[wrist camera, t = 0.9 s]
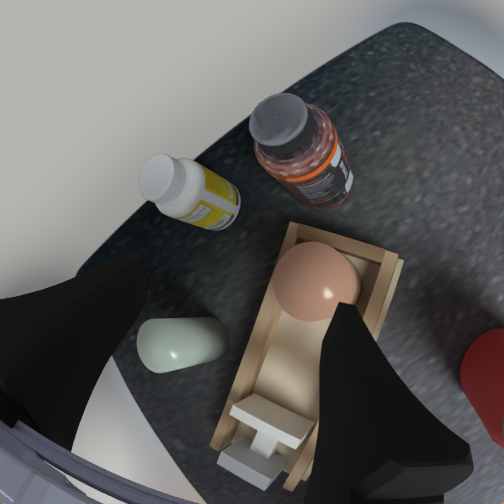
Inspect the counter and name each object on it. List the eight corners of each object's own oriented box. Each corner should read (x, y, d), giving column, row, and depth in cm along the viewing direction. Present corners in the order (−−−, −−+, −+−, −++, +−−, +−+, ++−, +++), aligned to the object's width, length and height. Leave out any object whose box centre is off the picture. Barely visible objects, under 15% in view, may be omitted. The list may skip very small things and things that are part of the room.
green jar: (221, 367, 30) (168, 383, 23) (187, 348, 32) (132, 356, 25) (235, 327, 30) (182, 333, 23) (199, 309, 32) (144, 310, 25)
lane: (308, 477, 24) (294, 496, 21) (223, 432, 29) (202, 445, 26) (403, 261, 24) (404, 255, 21) (297, 228, 29) (282, 218, 25)
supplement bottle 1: (210, 176, 34) (148, 141, 25) (250, 189, 32) (191, 150, 23) (191, 222, 34) (124, 198, 26) (229, 239, 32) (163, 216, 23)
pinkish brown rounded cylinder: (350, 324, 25) (333, 333, 18) (296, 304, 27) (262, 305, 21) (371, 266, 24) (360, 255, 18) (315, 248, 27) (287, 232, 21)
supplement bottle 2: (369, 177, 26) (345, 109, 16) (323, 225, 28) (274, 181, 18) (323, 140, 29) (279, 68, 19) (281, 183, 30) (218, 129, 20)
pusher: (287, 473, 24) (270, 494, 21) (233, 444, 27) (211, 459, 24) (315, 422, 24) (300, 440, 21) (254, 393, 27) (232, 404, 23)
